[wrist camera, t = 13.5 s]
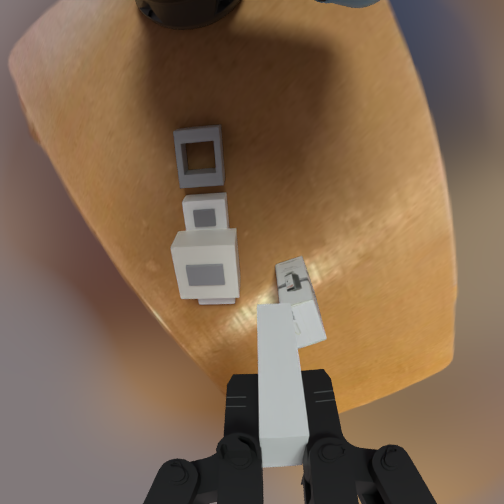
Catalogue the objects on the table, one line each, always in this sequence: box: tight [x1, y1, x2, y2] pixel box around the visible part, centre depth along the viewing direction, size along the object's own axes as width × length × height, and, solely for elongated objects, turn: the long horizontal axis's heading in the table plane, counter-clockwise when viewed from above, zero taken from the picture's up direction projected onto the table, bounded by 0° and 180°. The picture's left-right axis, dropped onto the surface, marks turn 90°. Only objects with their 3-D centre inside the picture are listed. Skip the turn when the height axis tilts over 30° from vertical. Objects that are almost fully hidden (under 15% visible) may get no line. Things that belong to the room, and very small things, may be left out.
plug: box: [170, 228, 240, 299], centre depth 45 cm, size 8×8×8 cm
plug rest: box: [173, 125, 225, 188], centre depth 40 cm, size 8×6×3 cm
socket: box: [182, 192, 235, 304], centre depth 47 cm, size 18×6×4 cm, turn 3°
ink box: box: [275, 256, 327, 349], centre depth 47 cm, size 9×5×12 cm, turn 21°
